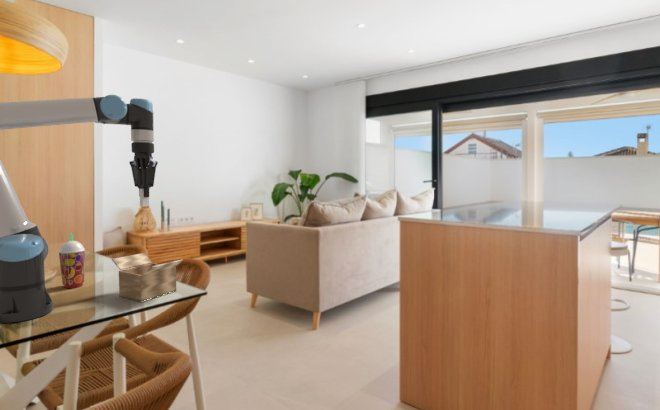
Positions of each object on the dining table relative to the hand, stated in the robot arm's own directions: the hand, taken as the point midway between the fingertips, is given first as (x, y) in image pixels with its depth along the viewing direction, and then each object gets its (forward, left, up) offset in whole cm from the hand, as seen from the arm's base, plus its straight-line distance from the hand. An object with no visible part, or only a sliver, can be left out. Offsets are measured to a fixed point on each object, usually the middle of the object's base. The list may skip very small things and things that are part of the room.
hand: (144, 206), depth 146 cm
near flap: (-6, -15, -22) cm, 27 cm away
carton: (-6, -9, -31) cm, 32 cm away
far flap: (-6, -3, -22) cm, 23 cm away
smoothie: (-14, +23, -31) cm, 41 cm away
